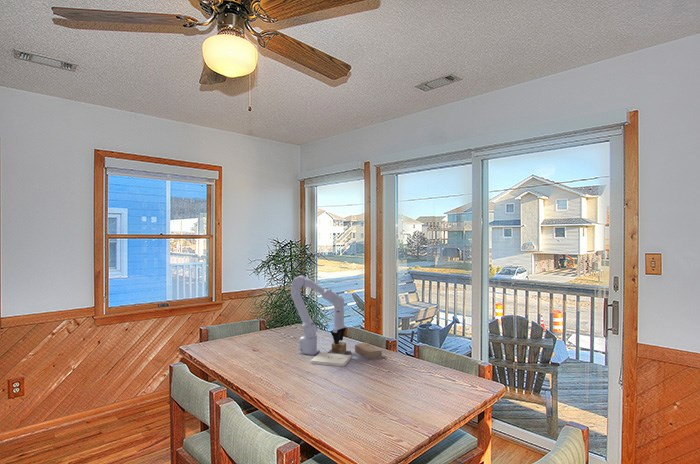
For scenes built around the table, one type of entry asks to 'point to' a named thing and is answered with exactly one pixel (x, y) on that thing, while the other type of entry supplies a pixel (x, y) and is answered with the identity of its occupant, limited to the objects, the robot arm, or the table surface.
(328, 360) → the board
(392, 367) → the table surface
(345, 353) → the mat
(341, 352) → the block
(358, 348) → the brick
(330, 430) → the table surface
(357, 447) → the table surface
